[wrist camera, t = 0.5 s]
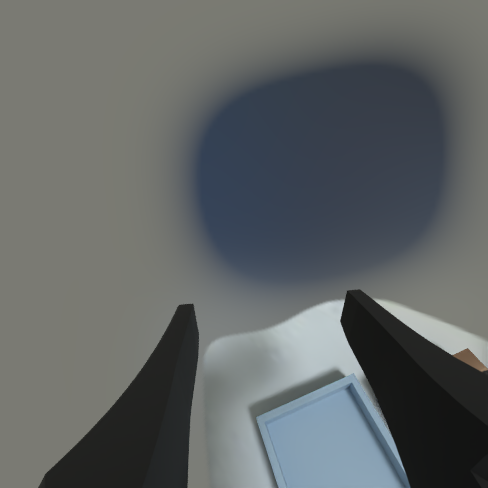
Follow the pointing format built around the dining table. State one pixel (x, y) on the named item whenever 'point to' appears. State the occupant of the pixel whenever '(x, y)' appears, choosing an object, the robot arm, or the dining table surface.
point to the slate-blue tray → (331, 441)
